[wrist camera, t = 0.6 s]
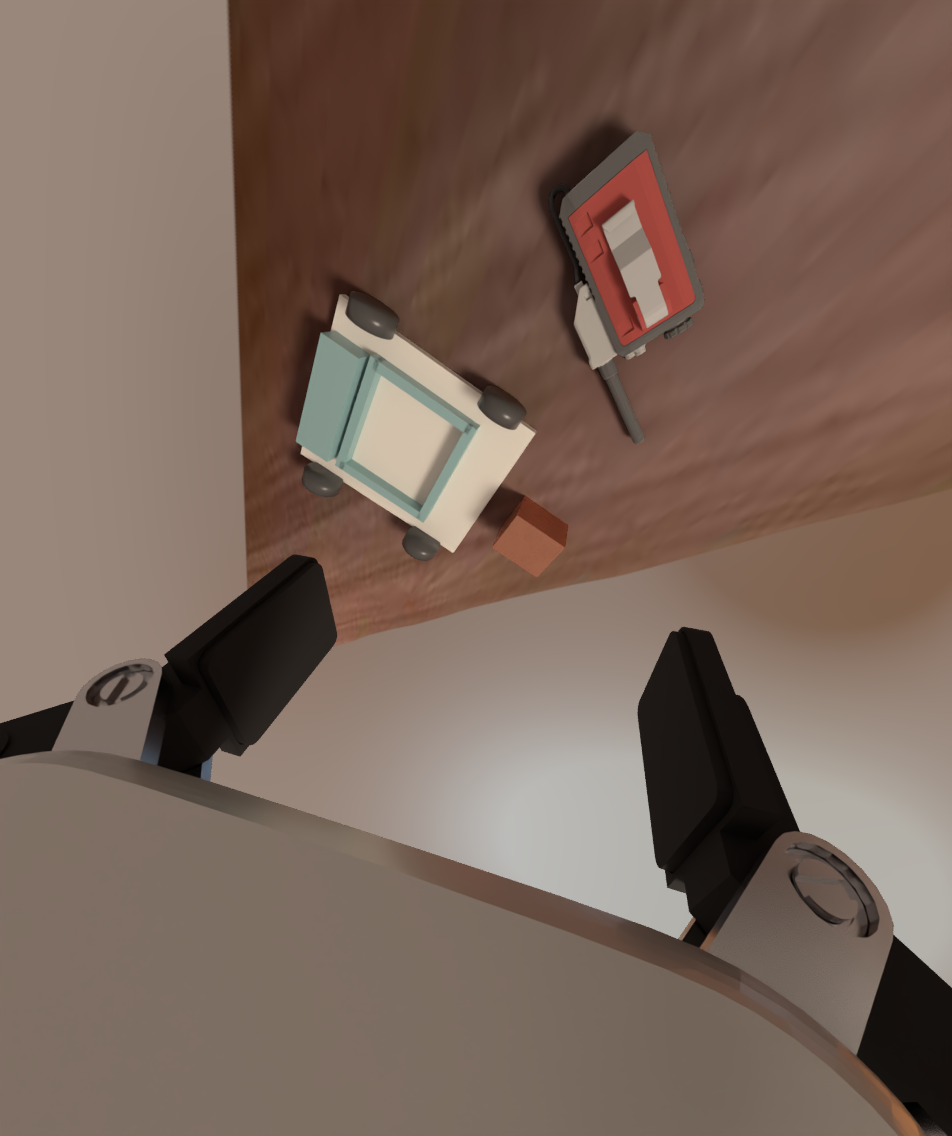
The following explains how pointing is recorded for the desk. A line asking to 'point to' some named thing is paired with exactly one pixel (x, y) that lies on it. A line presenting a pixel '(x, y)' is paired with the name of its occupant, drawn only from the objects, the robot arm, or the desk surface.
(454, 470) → the chassis
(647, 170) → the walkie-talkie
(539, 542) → the orange-brown block
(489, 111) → the desk surface
